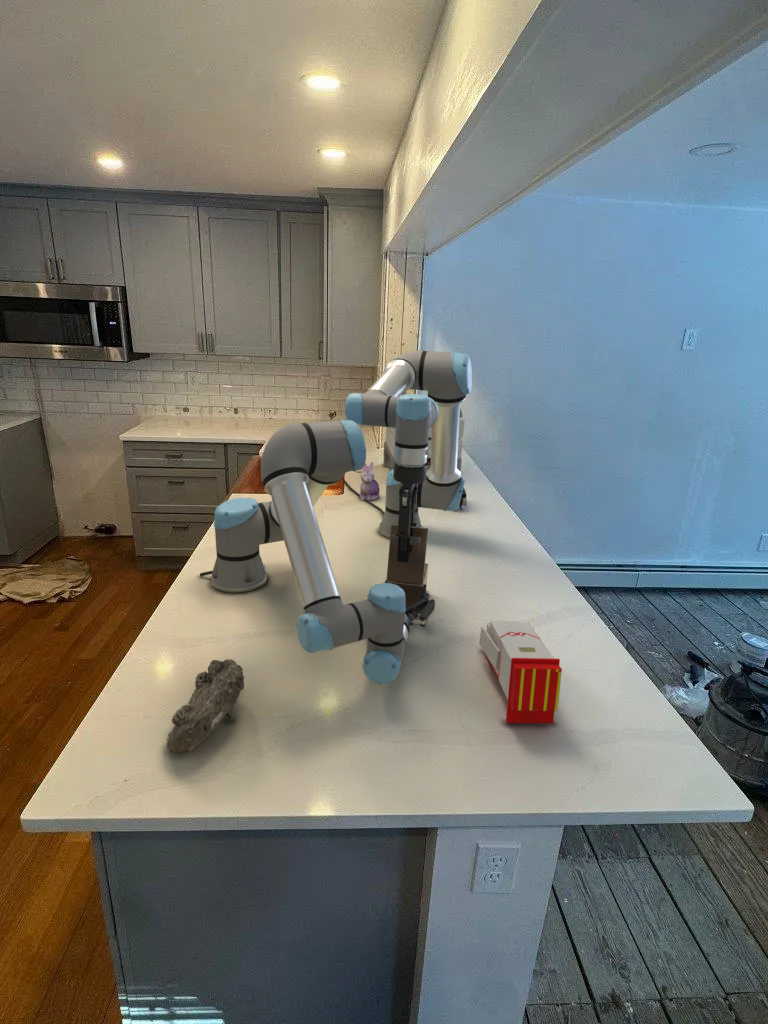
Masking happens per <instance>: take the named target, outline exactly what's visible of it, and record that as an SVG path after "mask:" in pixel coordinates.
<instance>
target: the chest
mask: <svg viewBox="0 0 768 1024" xmlns="http://www.w3.org/2000/svg"><path fill="white" fill-rule="evenodd" d="M428 574H429V563H426V562H425V569H424V579H423V585H421V584H413V583H404V582H396V581H387V583H391V584H395V585H397V586H399V587H400V588H402V589H403V591H404V592H405V599H406V607H407V606H411V605H413V604H414V603H416V602H418V601H419V600H421V593H422V590H423V586H424V584H425V585H428ZM427 587H428V586H426V588H427ZM420 613H421V612H420ZM420 613H418V614H420ZM418 614H417V615H415V616H414V617H417V616H418Z"/></svg>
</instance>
